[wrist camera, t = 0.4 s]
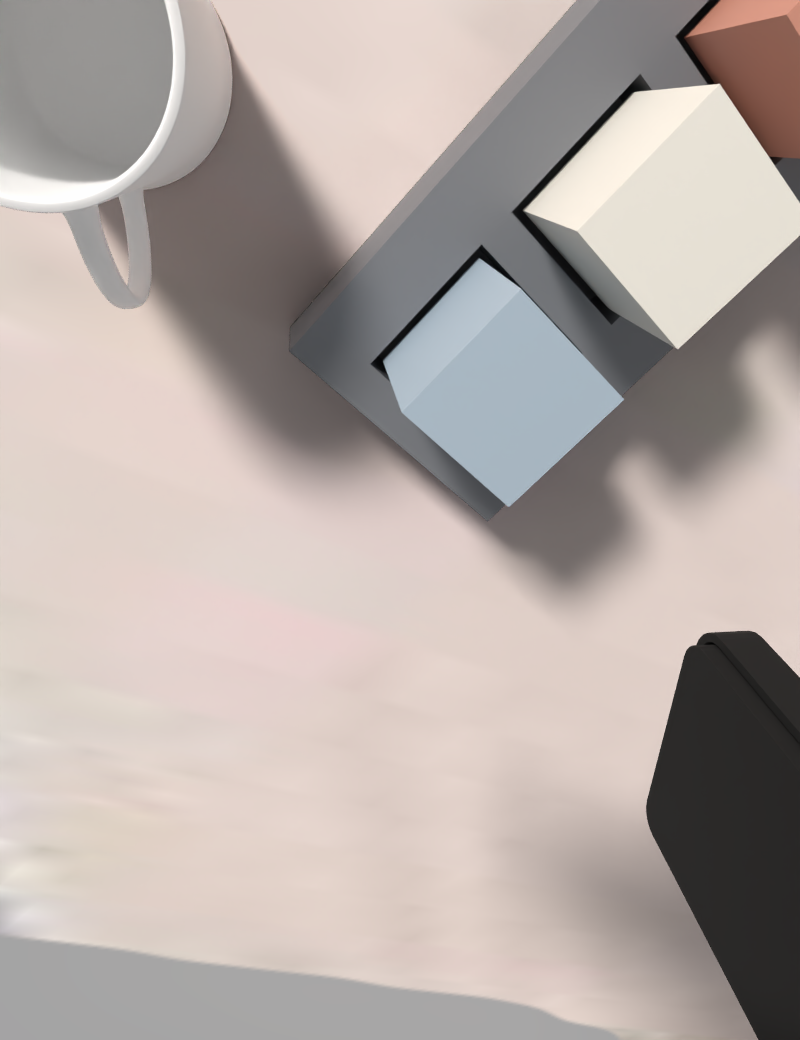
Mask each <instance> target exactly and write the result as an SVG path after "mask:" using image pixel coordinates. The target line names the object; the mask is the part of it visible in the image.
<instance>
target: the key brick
mask: <svg viewBox="0 0 800 1040" xmlns="http://www.w3.org/2000/svg"><path fill="white" fill-rule="evenodd" d="M684 39H685V40H686V42H687V43H688V44H689V46H690V47H691V49H692V50H693V52H694V53H695V55H696V56H697V58H698V59H699V61H700V62H701V64H702V65H703V67H704V68H705V70H706V71H707V73H708V74H709V76H710V77H711V79H712V80H713V81H714V83H715V84H720V85H721V87H722V88H723V90H724V91H725V93H726V94H727V95H728V97H729V98H730V100H731V101H732V103H733V104H734V106H735V107H736V109H737V110H738V112H739V113H740V115H741V116H742V118H743V119H744V121H745V122H746V124H747V125H748V127H749V128H750V130H751V131H752V133H753V134H754V136H755V137H756V139H757V140H758V142H759V143H760V145H761V146H762V148H763V149H764V150H765V152H766V153H767V155H768V156H769V157H783V158H798V159H800V0H719V1H718V2H717V3H716V4H715V5H714V6H713V7H712V8H711V9H710V10H709V11H708V12H707V13H706V14H705V16H704V17H703V18H702V19H701V20H700V21H699V22H698V23H697V24H696V25H695V26H694V27H693V28H692V29H691V31H690V32H689V33H688V34H687V35H686V36H685V37H684Z"/></svg>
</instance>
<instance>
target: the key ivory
mask: <svg viewBox="0 0 800 1040" xmlns="http://www.w3.org/2000/svg"><path fill="white" fill-rule="evenodd" d="M523 212H524V213H525V214H526V215H527V216H528V217H529V218H530V220H531V221H532V222H533V223H534V224H535V225H536V226H537V228H538V229H539V230H540V231H541V232H542V233H543V234H544V236H545V237H546V238H547V239H548V240H549V241H550V242H551V244H552V245H553V246H554V247H555V248H556V249H557V250H558V251H559V253H560V254H561V255H562V256H563V257H564V258H565V259H566V261H567V262H568V263H569V264H570V265H571V266H572V267H573V269H574V270H575V271H576V272H577V273H578V274H579V275H580V277H581V278H582V279H583V280H584V281H585V282H586V283H587V285H588V286H589V287H590V288H591V289H592V290H593V291H594V293H595V294H596V295H597V296H598V297H599V298H600V299H601V301H602V302H603V303H604V304H605V305H606V306H607V307H608V308H609V309H610V310H612V311H613V312H615V313H617V314H618V315H620V316H622V317H624V318H625V319H627V320H629V321H630V322H632V323H634V324H635V325H637V326H639V327H640V328H642V329H644V330H646V331H647V332H649V333H651V334H652V335H654V336H656V337H657V338H659V339H661V340H662V341H664V342H666V343H668V344H669V345H671V346H673V347H674V348H676V349H679V348H680V347H681V346H682V345H683V344H684V343H685V342H686V341H687V340H688V339H690V338H691V337H692V336H693V335H694V334H695V333H696V332H697V331H698V330H699V329H700V328H701V327H702V326H703V325H705V324H706V323H707V322H708V321H709V320H710V319H711V318H712V317H713V316H714V315H715V314H716V313H717V312H718V311H719V310H721V309H722V308H723V307H724V306H725V305H726V304H727V303H728V302H729V301H730V300H731V299H732V298H733V297H734V296H736V295H737V294H738V293H739V292H740V291H741V290H742V289H743V288H744V287H745V286H746V285H747V284H748V283H749V282H751V281H752V280H753V279H754V278H755V277H756V276H757V275H758V274H759V273H760V272H761V271H762V270H763V269H764V268H765V267H767V266H768V265H769V264H770V263H771V262H772V261H773V260H774V259H775V258H776V257H777V256H778V255H779V254H780V253H782V252H783V251H784V250H785V249H786V248H787V247H788V246H789V245H790V244H791V243H792V242H793V241H794V240H795V239H797V238H798V237H799V236H800V203H799V201H798V200H797V198H796V197H795V195H794V194H793V192H792V191H791V189H790V188H789V186H788V185H787V183H786V182H785V180H784V179H783V177H782V176H781V174H780V173H779V171H778V170H777V168H776V167H775V165H774V164H773V162H772V161H771V159H770V158H769V156H768V155H767V153H766V152H765V150H764V149H763V148H762V146H761V145H760V143H759V142H758V140H757V139H756V137H755V136H754V134H753V133H752V131H751V130H750V128H749V127H748V125H747V124H746V122H745V121H744V119H743V118H742V116H741V115H740V113H739V112H738V110H737V109H736V107H735V106H734V104H733V103H732V101H731V100H730V98H729V97H728V95H727V94H726V93H725V91H724V90H723V88H722V87H721V85H720V84H713V85H703V86H692V87H682V88H671V89H661V90H650V91H640V92H633V93H632V94H631V95H630V96H629V97H628V98H627V99H626V100H625V101H624V102H623V103H622V104H621V105H620V107H619V108H618V109H617V110H616V111H615V112H614V113H613V114H612V115H611V116H610V117H609V118H608V119H607V120H606V122H605V123H604V124H603V125H602V126H601V127H600V128H599V129H598V130H597V131H596V132H595V133H594V134H593V135H592V136H591V138H590V139H589V140H588V141H587V142H586V143H585V144H584V145H583V146H582V147H581V148H580V149H579V150H578V151H577V153H576V154H575V155H574V156H573V157H572V158H571V159H570V160H569V161H568V162H567V163H566V164H565V165H564V166H563V168H562V169H561V170H560V171H559V172H558V173H557V174H556V175H555V176H554V177H553V178H552V179H551V180H550V181H549V183H548V184H547V185H546V186H545V187H544V188H543V189H542V190H541V191H540V192H539V193H538V194H537V195H536V196H535V198H534V199H533V200H532V201H531V202H530V203H529V204H528V205H527V206H526V207H525V208H524V209H523Z"/></svg>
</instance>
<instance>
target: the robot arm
mask: <svg viewBox="0 0 800 1040" xmlns="http://www.w3.org/2000/svg"><path fill="white" fill-rule="evenodd" d="M646 812H647V820H648V824H649V827H650V830H651V832H652V835H653V837H654V839H655V841H656V843H657V844H658V846H659V848H660V850H661V852H662V854H663V856H664V858H665V860H666V862H667V864H668V866H669V868H670V870H671V872H672V873H673V875H674V877H675V879H676V881H677V883H678V885H679V887H680V889H681V891H682V893H683V895H684V897H685V899H686V901H687V902H688V904H689V906H690V908H691V910H692V912H693V914H694V916H695V918H696V920H697V922H698V924H699V926H700V928H701V929H702V931H703V933H704V935H705V937H706V939H707V941H708V943H709V945H710V947H711V949H712V951H713V953H714V955H715V957H716V958H717V960H718V962H719V964H720V966H721V968H722V970H723V972H724V974H725V976H726V978H727V980H728V982H729V984H730V985H731V987H732V989H733V991H734V993H735V995H736V997H737V999H738V1001H739V1003H740V1005H741V1007H742V1009H743V1011H744V1013H745V1014H746V1016H747V1018H748V1020H749V1022H750V1024H751V1026H752V1028H753V1030H754V1032H755V1034H756V1036H757V1038H758V1040H800V677H799V676H798V675H797V674H796V673H795V672H794V671H793V670H792V669H791V668H790V667H789V666H788V665H787V664H786V663H785V661H784V660H783V659H782V658H781V657H780V656H779V655H778V654H777V653H776V652H775V651H774V650H773V649H772V648H771V647H770V646H769V644H768V643H767V642H766V641H765V640H764V639H763V638H762V637H761V636H759V635H758V634H757V633H756V632H752V631H735V632H715V633H706V634H703V635H702V636H701V638H700V639H699V640H698V643H697V645H694V646H691V647H689V648H688V649H687V651H686V653H685V656H684V659H683V663H682V667H681V671H680V675H679V679H678V683H677V687H676V690H675V694H674V698H673V702H672V706H671V710H670V714H669V718H668V722H667V725H666V729H665V733H664V737H663V741H662V745H661V749H660V753H659V756H658V760H657V764H656V768H655V772H654V776H653V780H652V784H651V788H650V791H649V795H648V799H647V805H646Z"/></svg>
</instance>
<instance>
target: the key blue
mask: <svg viewBox="0 0 800 1040" xmlns="http://www.w3.org/2000/svg"><path fill="white" fill-rule="evenodd" d="M383 363H384V365H385V368H386V371H387V374H388V376H389V379H390V382H391V385H392V387H393V390H394V393H395V396H396V398H397V401H398V404H399V407H400V409H401V412H402V413H403V414H404V415H405V416H406V417H407V418H408V419H410V420H411V421H412V422H413V423H414V424H415V425H416V426H417V427H419V428H420V429H421V430H422V431H423V432H424V433H425V434H427V435H428V436H429V437H430V438H431V439H432V440H433V441H434V442H436V443H437V444H438V445H439V446H440V447H441V448H442V449H443V450H445V451H446V452H447V453H448V454H449V455H450V456H451V457H453V458H454V459H455V460H456V461H457V462H458V463H459V464H460V465H462V466H463V467H464V468H465V469H466V470H467V471H468V472H469V473H471V474H472V475H473V476H474V477H475V478H476V479H477V480H479V481H480V482H481V483H482V484H483V485H484V486H485V487H486V488H488V489H489V490H490V491H491V492H492V493H493V494H494V495H495V496H497V497H498V498H499V499H500V500H501V501H502V502H503V503H505V504H506V505H507V506H508V507H510V506H511V505H512V504H513V503H514V502H515V501H516V500H517V499H518V498H519V497H520V496H522V495H523V494H524V493H525V492H526V491H527V490H528V489H529V488H530V487H531V486H532V485H533V484H534V483H535V482H537V481H538V480H539V479H540V478H541V477H542V476H543V475H544V474H545V473H546V472H547V471H548V470H549V469H550V468H551V467H553V466H554V465H555V464H556V463H557V462H558V461H559V460H560V459H561V458H562V457H563V456H564V455H565V454H566V453H568V452H569V451H570V450H571V449H572V448H573V447H574V446H575V445H576V444H577V443H578V442H579V441H580V440H581V439H583V438H584V437H585V436H586V435H587V434H588V433H589V432H590V431H591V430H592V429H593V428H594V427H595V426H596V425H598V424H599V423H600V422H601V421H602V420H603V419H604V418H605V417H606V416H607V415H608V414H609V413H610V412H611V411H612V410H614V409H615V408H616V407H617V406H618V405H619V404H620V403H621V402H622V401H623V400H624V399H623V398H622V397H621V395H620V394H619V393H618V392H617V391H616V390H615V389H614V388H613V387H612V386H611V385H610V384H609V383H608V382H607V380H606V379H605V378H604V377H603V376H602V375H601V374H600V373H599V372H598V371H597V370H596V369H595V368H594V366H593V365H592V364H591V363H590V362H589V361H588V360H587V359H586V358H585V357H584V356H583V355H582V354H581V353H580V351H579V350H578V349H577V348H576V347H575V346H574V345H573V344H572V343H571V342H570V341H569V340H568V339H567V337H566V336H565V335H564V334H563V333H562V332H561V331H560V330H559V329H558V328H557V327H556V326H555V325H554V324H553V322H552V321H551V320H550V319H549V318H548V317H547V316H546V315H545V314H544V313H543V312H542V311H541V310H540V308H539V307H538V306H537V305H536V304H535V303H534V302H533V301H532V300H531V299H530V298H529V297H528V296H527V295H526V293H525V292H524V291H523V290H522V289H521V288H519V287H518V286H517V285H515V284H514V283H513V282H511V281H510V280H508V279H507V278H506V277H504V276H503V275H502V274H500V273H499V272H498V271H496V270H495V269H493V268H492V267H491V266H489V265H488V264H487V263H485V262H484V261H483V260H481V259H480V258H478V259H477V260H476V261H475V262H474V263H473V264H472V265H471V266H470V267H469V268H468V269H467V270H466V271H465V272H464V273H463V275H462V276H461V277H460V278H459V279H458V280H457V281H456V282H455V283H454V284H453V285H452V286H451V287H450V288H449V290H448V291H447V292H446V293H445V294H444V295H443V296H442V297H441V298H440V299H439V300H438V301H437V302H436V303H435V305H434V306H433V307H432V308H431V309H430V310H429V311H428V312H427V313H426V314H425V315H424V316H423V317H422V318H421V320H420V321H419V322H418V323H417V324H416V325H415V326H414V327H413V328H412V329H411V330H410V331H409V332H408V333H407V335H406V336H405V337H404V338H403V339H402V340H401V341H400V342H399V343H398V344H397V345H396V346H395V347H394V348H393V349H392V351H391V352H390V353H389V354H388V355H387V356H386V357H385V358H384V359H383Z"/></svg>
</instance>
